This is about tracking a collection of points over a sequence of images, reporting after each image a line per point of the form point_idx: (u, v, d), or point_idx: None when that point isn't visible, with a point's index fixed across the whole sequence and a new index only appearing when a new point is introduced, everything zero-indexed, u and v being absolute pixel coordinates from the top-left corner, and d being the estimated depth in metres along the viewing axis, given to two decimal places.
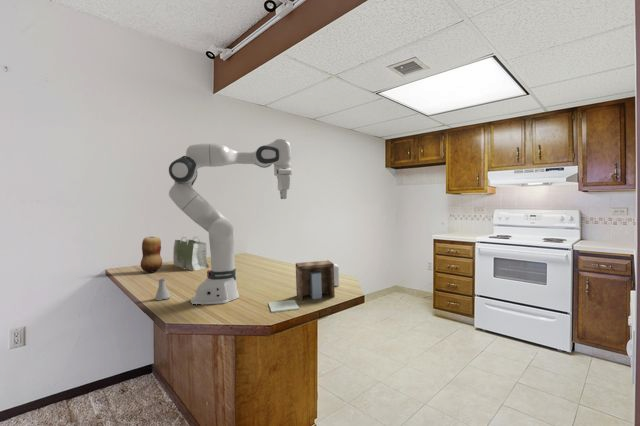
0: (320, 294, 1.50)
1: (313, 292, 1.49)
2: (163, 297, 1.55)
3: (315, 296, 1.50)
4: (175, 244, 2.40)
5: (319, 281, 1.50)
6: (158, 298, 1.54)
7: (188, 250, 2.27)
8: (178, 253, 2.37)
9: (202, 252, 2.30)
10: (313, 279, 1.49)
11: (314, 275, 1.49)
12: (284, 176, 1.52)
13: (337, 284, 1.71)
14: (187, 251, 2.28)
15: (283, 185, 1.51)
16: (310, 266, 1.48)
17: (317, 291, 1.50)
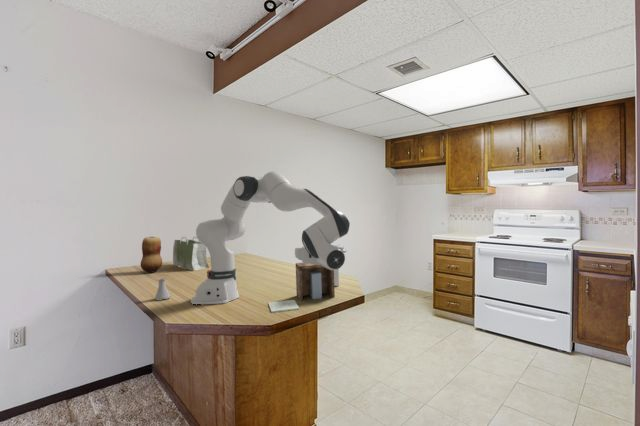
0: (320, 294, 1.50)
1: (313, 292, 1.49)
2: (163, 297, 1.55)
3: (315, 296, 1.50)
4: (175, 244, 2.40)
5: (319, 281, 1.50)
6: (158, 298, 1.54)
7: (188, 250, 2.27)
8: (177, 253, 2.36)
9: (201, 252, 2.30)
10: (313, 279, 1.49)
11: (314, 275, 1.49)
12: (299, 252, 1.25)
13: (337, 284, 1.71)
14: (187, 251, 2.28)
15: (295, 250, 1.29)
16: (310, 266, 1.48)
17: (317, 291, 1.50)
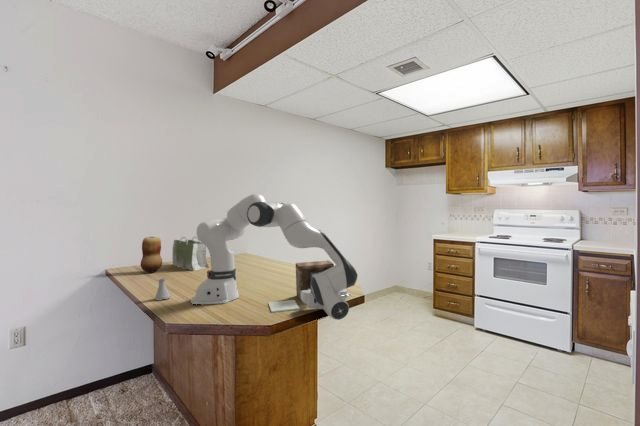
0: None
1: None
2: (163, 297, 1.55)
3: None
4: (174, 244, 2.40)
5: None
6: (158, 298, 1.54)
7: (188, 250, 2.27)
8: (177, 253, 2.36)
9: (201, 252, 2.30)
10: None
11: (314, 275, 1.49)
12: (304, 297, 1.31)
13: None
14: (187, 251, 2.27)
15: (301, 293, 1.35)
16: (310, 266, 1.48)
17: None
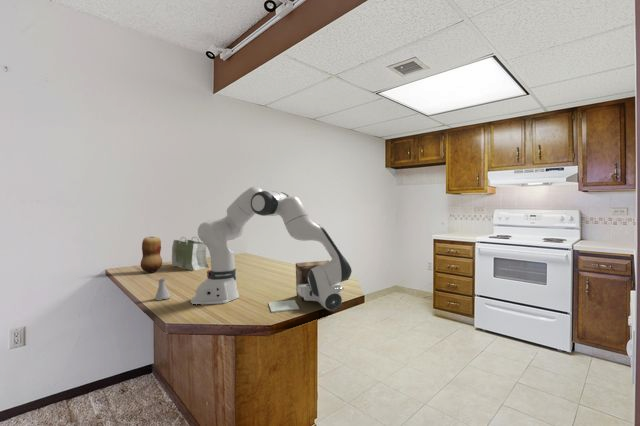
0: None
1: None
2: (163, 297, 1.55)
3: None
4: (174, 244, 2.39)
5: None
6: (158, 298, 1.54)
7: (188, 250, 2.27)
8: (177, 253, 2.36)
9: (201, 252, 2.30)
10: None
11: None
12: (300, 290, 1.40)
13: None
14: (186, 251, 2.27)
15: (297, 287, 1.43)
16: (310, 266, 1.48)
17: None
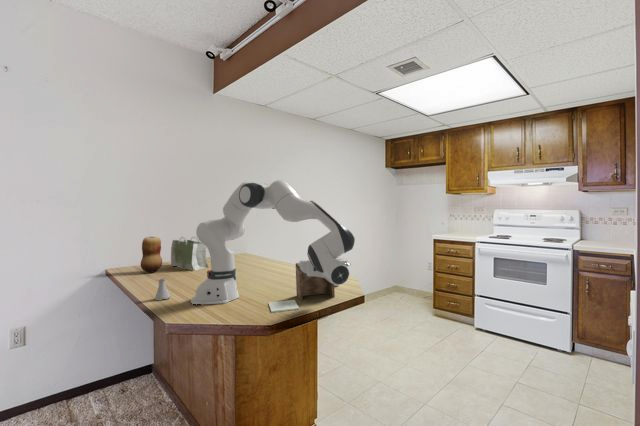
0: None
1: None
2: (163, 297, 1.55)
3: None
4: (173, 244, 2.39)
5: None
6: (158, 298, 1.54)
7: (187, 250, 2.27)
8: (176, 253, 2.35)
9: (201, 252, 2.30)
10: None
11: None
12: (303, 265, 1.28)
13: None
14: (186, 251, 2.27)
15: (300, 262, 1.32)
16: None
17: None
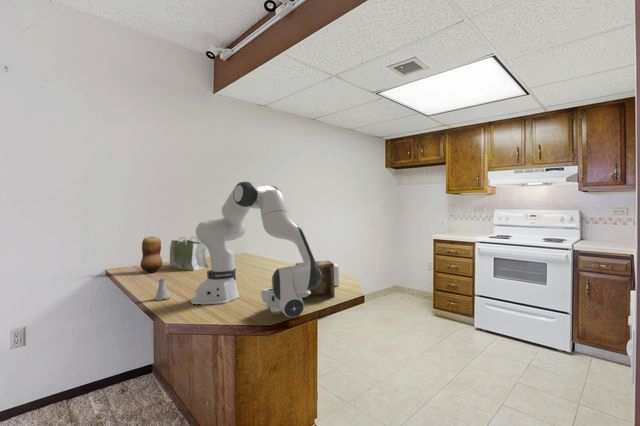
0: None
1: None
2: (163, 297, 1.55)
3: None
4: (172, 244, 2.38)
5: None
6: (158, 298, 1.54)
7: (187, 250, 2.26)
8: (175, 254, 2.35)
9: (201, 252, 2.30)
10: None
11: None
12: (263, 295, 1.28)
13: (337, 284, 1.71)
14: (186, 251, 2.27)
15: None
16: None
17: None
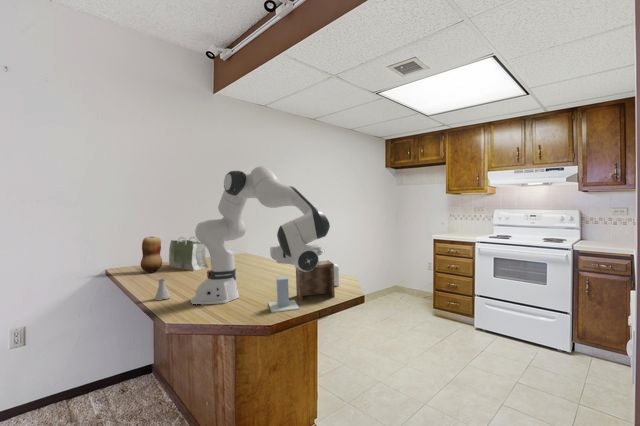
0: (287, 301, 1.39)
1: (279, 299, 1.38)
2: (163, 297, 1.55)
3: (281, 304, 1.38)
4: (171, 245, 2.38)
5: (286, 287, 1.38)
6: (158, 298, 1.54)
7: (187, 250, 2.26)
8: (174, 254, 2.35)
9: (200, 252, 2.30)
10: (279, 285, 1.37)
11: (280, 281, 1.38)
12: (273, 252, 1.19)
13: (337, 284, 1.71)
14: (186, 251, 2.27)
15: (270, 249, 1.23)
16: None
17: (284, 298, 1.38)
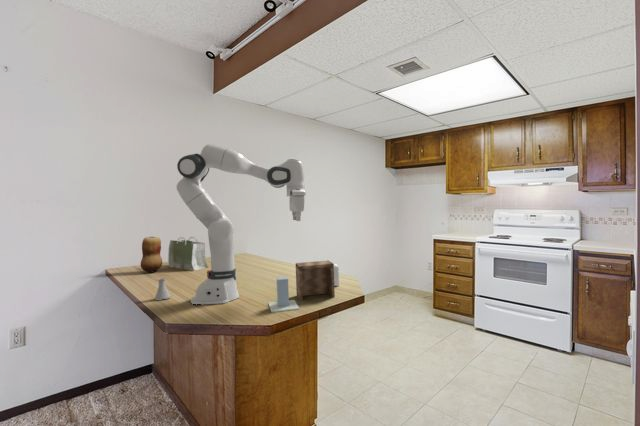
0: (287, 301, 1.39)
1: (279, 299, 1.38)
2: (163, 297, 1.55)
3: (281, 304, 1.38)
4: (170, 245, 2.37)
5: (286, 287, 1.38)
6: (158, 298, 1.54)
7: (187, 250, 2.26)
8: (174, 254, 2.34)
9: (200, 252, 2.30)
10: (279, 285, 1.37)
11: (280, 281, 1.38)
12: (298, 198, 1.46)
13: (337, 284, 1.71)
14: (186, 251, 2.27)
15: (297, 207, 1.46)
16: (310, 266, 1.48)
17: (284, 298, 1.38)
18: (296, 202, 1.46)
